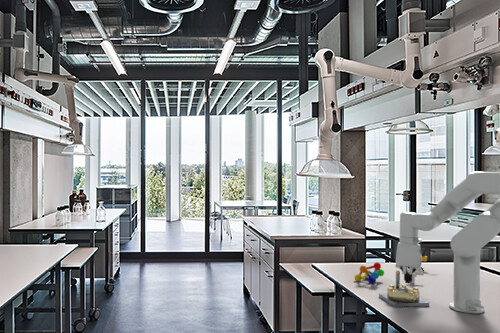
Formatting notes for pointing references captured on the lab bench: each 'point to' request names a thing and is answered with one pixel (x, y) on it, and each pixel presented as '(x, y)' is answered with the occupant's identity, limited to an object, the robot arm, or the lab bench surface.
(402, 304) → the base plate
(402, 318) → the lab bench surface
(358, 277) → the molecular model
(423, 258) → the robot dog
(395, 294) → the brass dial with handle
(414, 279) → the pipe connector
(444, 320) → the lab bench surface
